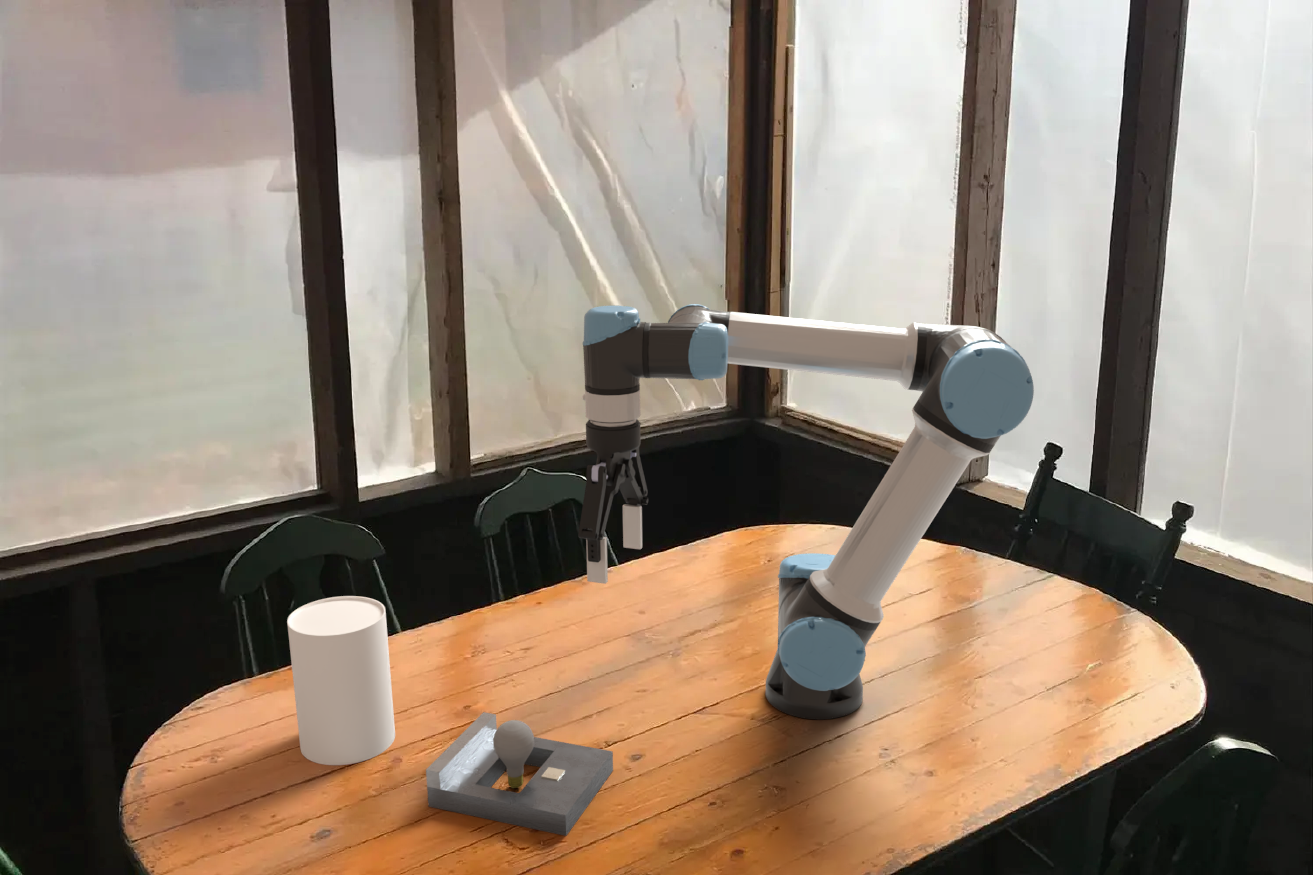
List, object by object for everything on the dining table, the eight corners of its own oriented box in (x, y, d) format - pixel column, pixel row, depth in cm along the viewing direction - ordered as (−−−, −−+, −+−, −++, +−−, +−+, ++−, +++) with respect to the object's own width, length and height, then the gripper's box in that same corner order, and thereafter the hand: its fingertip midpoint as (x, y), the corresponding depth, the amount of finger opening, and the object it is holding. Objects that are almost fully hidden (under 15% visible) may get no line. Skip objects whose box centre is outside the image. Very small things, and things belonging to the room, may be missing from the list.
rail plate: (613, 770, 160) (612, 735, 158) (566, 835, 145) (565, 797, 144) (485, 745, 166) (483, 712, 165) (428, 806, 152) (425, 769, 150)
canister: (295, 728, 172) (282, 605, 166) (386, 709, 177) (376, 590, 171) (306, 773, 160) (292, 642, 154) (403, 752, 165) (393, 625, 159)
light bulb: (495, 800, 153) (491, 735, 150) (496, 776, 158) (492, 713, 155) (536, 797, 154) (533, 733, 150) (535, 773, 159) (532, 710, 156)
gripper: (620, 397, 169) (623, 532, 175) (549, 440, 147) (555, 593, 152) (668, 401, 167) (669, 537, 173) (603, 445, 144) (607, 600, 150)
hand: (615, 564), depth 163 cm, fingers open, 13 cm apart
